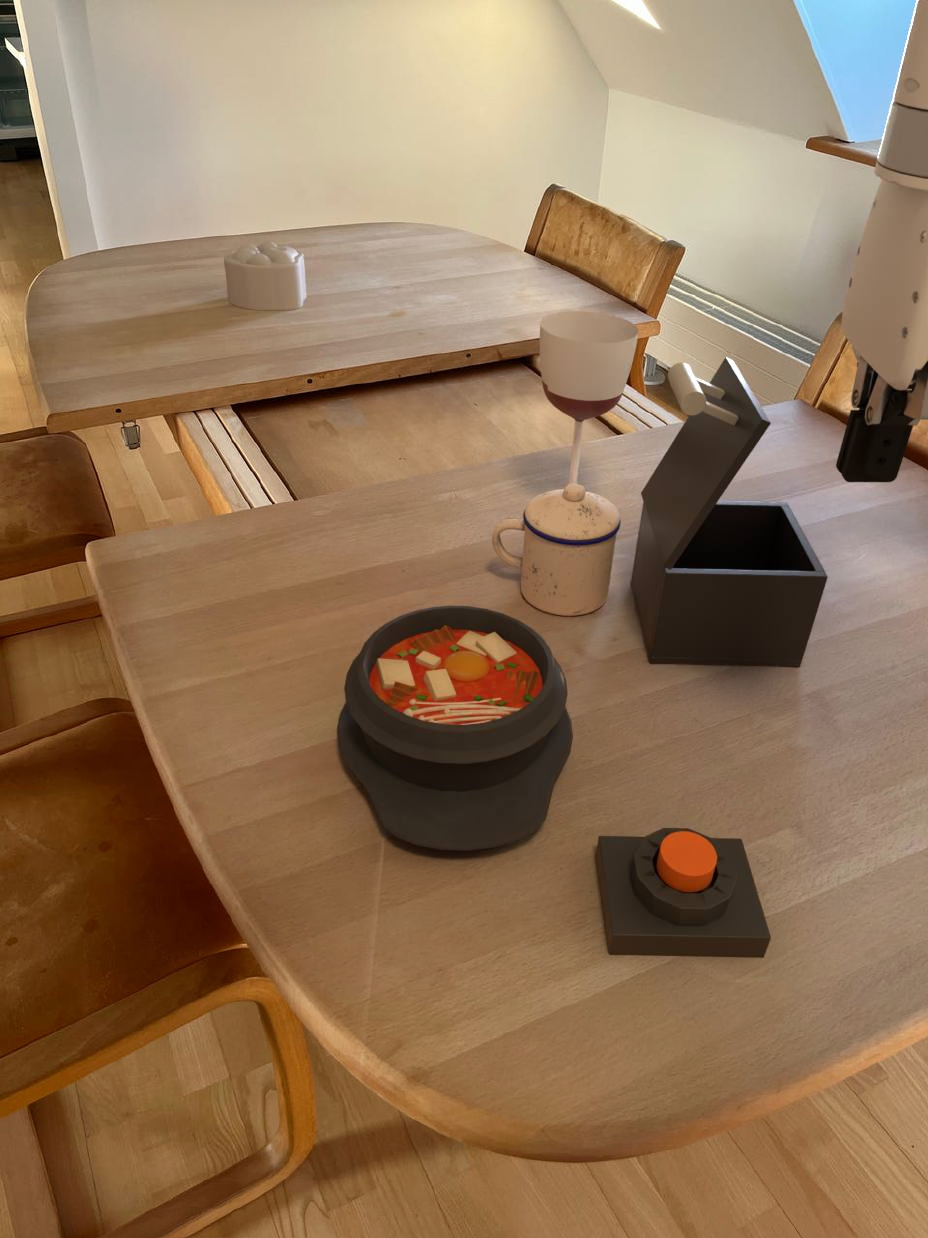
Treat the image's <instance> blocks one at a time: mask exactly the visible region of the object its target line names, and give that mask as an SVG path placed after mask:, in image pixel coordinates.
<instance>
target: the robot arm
mask: <svg viewBox="0 0 928 1238" xmlns="http://www.w3.org/2000/svg"><path fill="white" fill-rule="evenodd" d="M906 39H907V40H906V43H905V47H904V52H903V55H902V58H901V62H900V68H899V70H898V76H897V81H896V84H895V88H894V92H893V96H892V101H891V103H890V107H889V111H888V112H889V113H888V116H887V120H886V124H885V128H884V133H883V136H882V140H881V144H880V148H879V152H878V156H877V160H876V163H875V167H874V175H875V176H876V177H879V178H880V181H879V185H878V187H877V190H876V192H875V195H874V198H873V202H872V203H871V204H872V205H871V207H870V209H869V213H868V216H867V219H866V223H865V225H864V229H863V232H862V235H861V239H860V242H859V245H858V247H857V252H856V256H855V259H854V261H853V262H854V263H853V266H852V269H851V272H850V273H851V274H850V277H849V281H848V286H847V289H846V294H845V298H844V303H843V309H842V314H841V324H840V325H841V330H842V333H843V335H844V337H845V339H846V340H847V342H849V344H850V345H851V349H852V352H853V354H854V356H855V358H856V361H857V362H856V373H855V377H854V382H853V386H852V391H851V397H850V400H851V401H850V403H851V407H852V408H853V409H850V412H849V417H848V420H847V421H846V422H847V423H846V426H845V429H844V430H845V431H844V434H843V436H842V437H843V438H842V442H841V445H840V449H839V452H838V456H837V459H836V463H835V467H836V470H837V471H838V472H839V473H840V474H841V477H842V478H843V480H844V481H846V483H892V482H894V481H895V480H896V479H898V478H897V477H898V475H899V472H900V469H901V466H902V463H903V459H904V456H905V453H906V449H907V447H908V443H909V440H910V437H911V435H912V431H913V429H914V428H913V427H914V426H917V425H918V424H919V423H920V421H922V420H924V421H925V420H927V421H928V0H916V3H915V7H914V11H913V14H912V18H911V23H910V27H909V31H908V35H907V38H906Z"/></svg>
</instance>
